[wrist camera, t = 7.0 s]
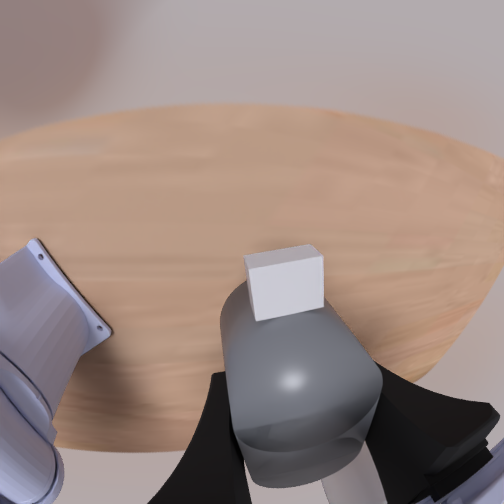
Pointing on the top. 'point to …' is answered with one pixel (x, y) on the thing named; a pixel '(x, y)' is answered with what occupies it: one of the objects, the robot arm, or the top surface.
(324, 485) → the drinking glass
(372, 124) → the top surface
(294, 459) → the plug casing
